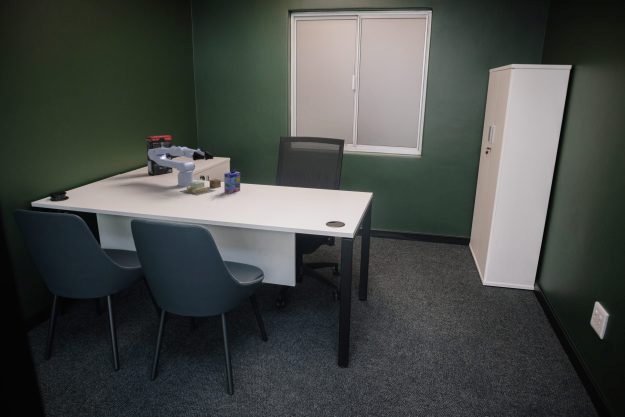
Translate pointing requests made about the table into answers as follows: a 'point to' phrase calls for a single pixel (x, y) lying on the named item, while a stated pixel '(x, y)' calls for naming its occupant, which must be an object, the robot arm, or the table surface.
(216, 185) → the walnut cube
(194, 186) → the sage block
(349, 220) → the table surface
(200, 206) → the table surface
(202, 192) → the desk mat
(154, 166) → the graphics card box
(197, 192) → the oak slab
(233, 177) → the ink cartridge box
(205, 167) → the table surface
